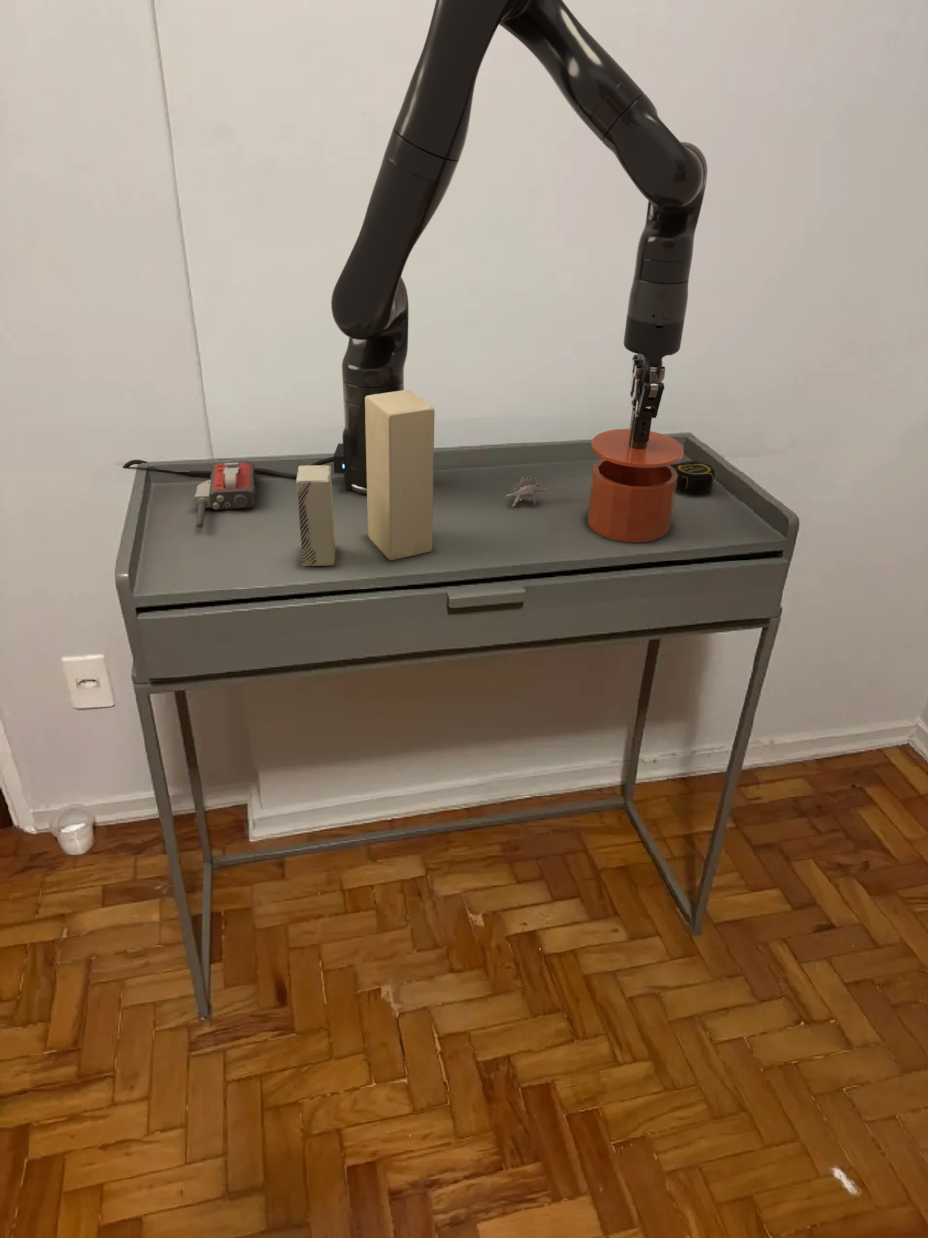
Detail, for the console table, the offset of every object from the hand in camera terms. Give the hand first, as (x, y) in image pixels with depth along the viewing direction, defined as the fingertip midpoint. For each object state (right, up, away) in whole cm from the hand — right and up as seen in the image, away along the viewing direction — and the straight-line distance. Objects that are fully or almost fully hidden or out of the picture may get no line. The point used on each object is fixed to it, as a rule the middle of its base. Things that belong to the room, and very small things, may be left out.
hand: (638, 436), depth 132 cm
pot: (0, -12, +7) cm, 14 cm away
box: (-45, -18, -4) cm, 48 cm away
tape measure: (+11, -5, +19) cm, 23 cm away
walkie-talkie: (-61, -8, +10) cm, 62 cm away
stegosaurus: (-15, -8, +13) cm, 21 cm away
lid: (0, -2, +1) cm, 2 cm away
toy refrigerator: (-34, -15, +1) cm, 37 cm away
